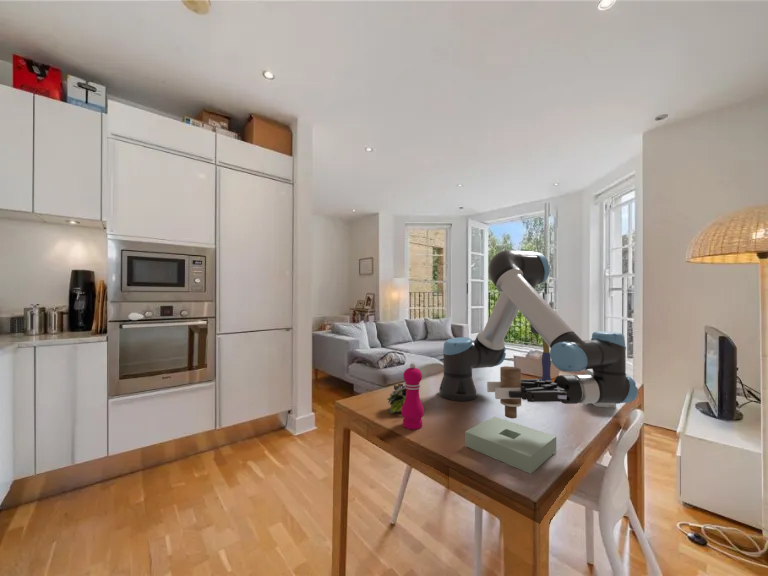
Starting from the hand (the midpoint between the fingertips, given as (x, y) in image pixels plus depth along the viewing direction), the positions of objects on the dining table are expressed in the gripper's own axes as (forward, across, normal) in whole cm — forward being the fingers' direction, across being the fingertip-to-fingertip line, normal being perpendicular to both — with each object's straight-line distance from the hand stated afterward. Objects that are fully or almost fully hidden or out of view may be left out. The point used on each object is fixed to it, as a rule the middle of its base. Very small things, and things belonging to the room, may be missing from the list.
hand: (491, 390), depth 86 cm
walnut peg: (-5, 0, -7) cm, 9 cm away
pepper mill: (+20, +16, -16) cm, 30 cm away
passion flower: (+21, +29, -16) cm, 40 cm away
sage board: (-5, 0, -16) cm, 17 cm away
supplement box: (-55, +34, -16) cm, 66 cm away
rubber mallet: (-49, +60, -16) cm, 79 cm away
